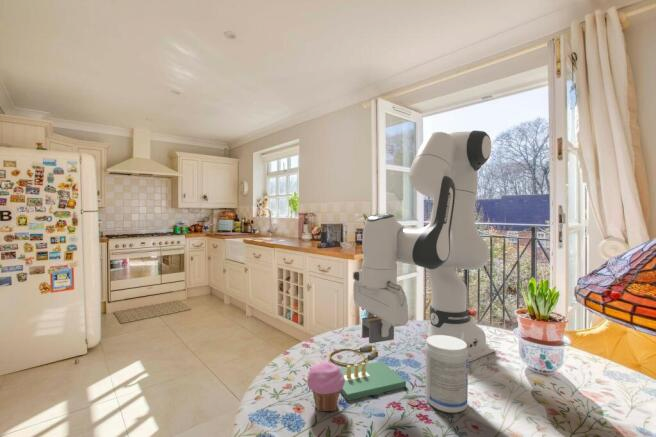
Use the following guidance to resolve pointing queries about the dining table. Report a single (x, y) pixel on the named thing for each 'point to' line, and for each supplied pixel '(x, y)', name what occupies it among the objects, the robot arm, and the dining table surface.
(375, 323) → the box
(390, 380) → the header board
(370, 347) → the extension cord
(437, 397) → the supplement tub
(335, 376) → the cupcake
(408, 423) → the dining table surface
